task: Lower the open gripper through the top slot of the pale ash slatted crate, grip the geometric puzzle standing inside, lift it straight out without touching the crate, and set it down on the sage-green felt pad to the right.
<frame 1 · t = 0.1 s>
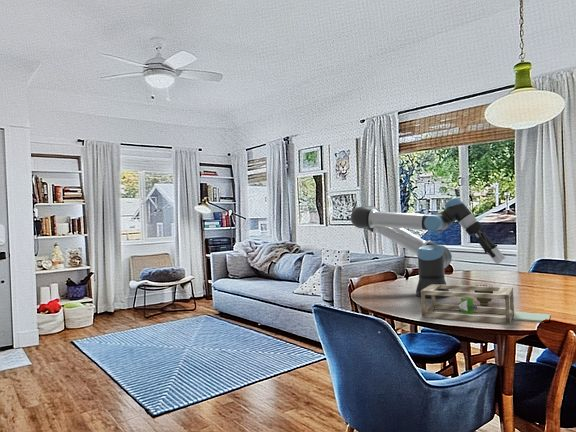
hand: (501, 261, 202), 15 cm above the table, tool tilted 35°, fingers open, 13 cm apart
geometric puzzle: (467, 316, 164), on the table
felt pad: (531, 317, 156), on the table
crate: (467, 315, 164), on the table
cup: (484, 306, 179), on the table
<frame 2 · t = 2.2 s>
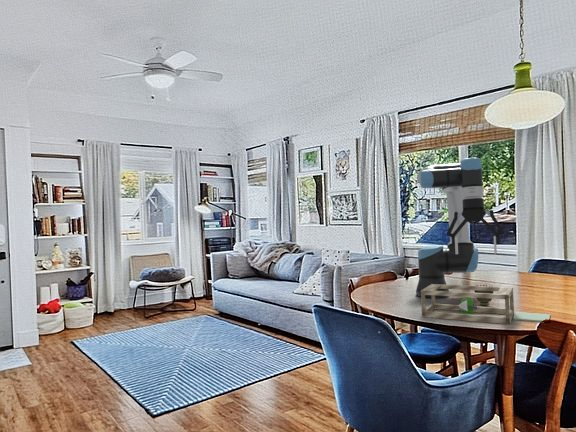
hand: (475, 253, 165), 23 cm above the table, tool pointing down, fingers open, 13 cm apart
nothing on the table moved.
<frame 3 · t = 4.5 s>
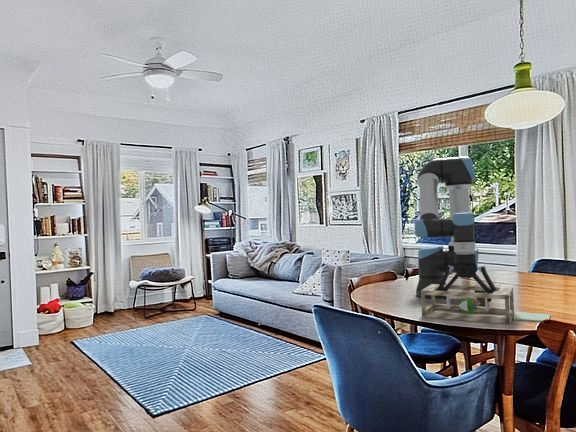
hand: (467, 309, 164), 2 cm above the table, tool pointing down, fingers open, 13 cm apart
nothing on the table moved.
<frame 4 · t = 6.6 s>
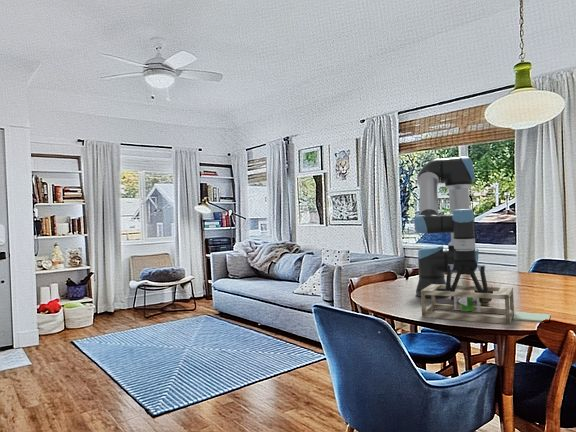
hand: (467, 309, 165), 2 cm above the table, tool pointing down, fingers closed on geometric puzzle, 7 cm apart
geometric puzzle: (467, 311, 165), point 2 cm above the table, touching gripper
everything else where it was.
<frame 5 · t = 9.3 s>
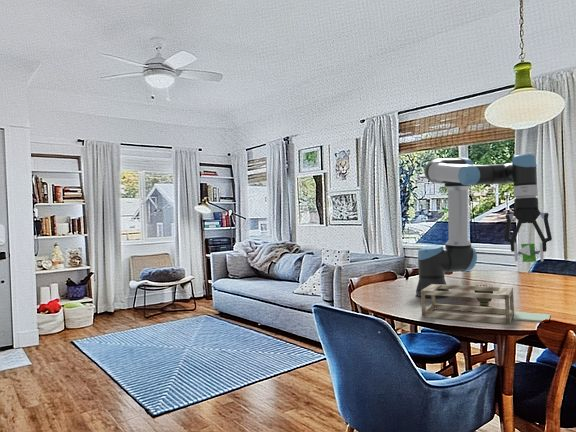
hand: (529, 260, 156), 21 cm above the table, tool pointing down, fingers closed on geometric puzzle, 7 cm apart
geometric puzzle: (529, 262, 156), point 20 cm above the table, touching gripper
everything else where it was.
when the fingers open (6 cm above the table, at t = 12.2 s): geometric puzzle drops 4 cm, resting on felt pad.
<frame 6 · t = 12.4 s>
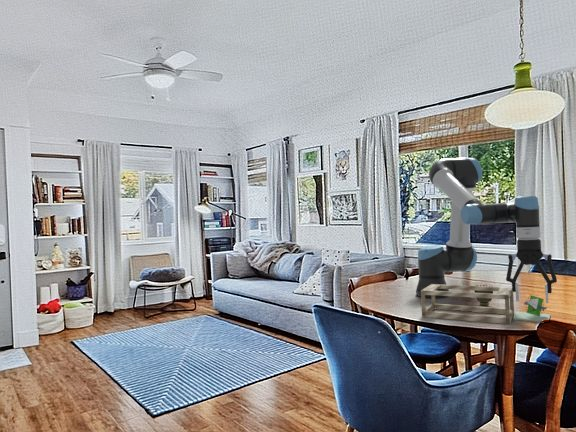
hand: (532, 301, 156), 6 cm above the table, tool pointing down, fingers open, 9 cm apart
geometric puzzle: (532, 314, 156), point 1 cm above the table, touching felt pad
everything else where it was.
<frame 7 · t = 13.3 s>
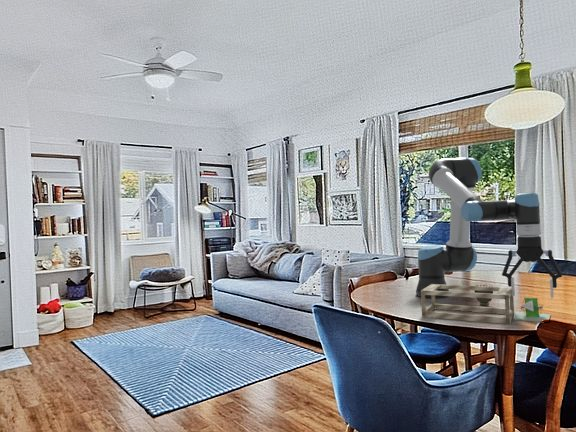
hand: (532, 296, 156), 8 cm above the table, tool pointing down, fingers open, 11 cm apart
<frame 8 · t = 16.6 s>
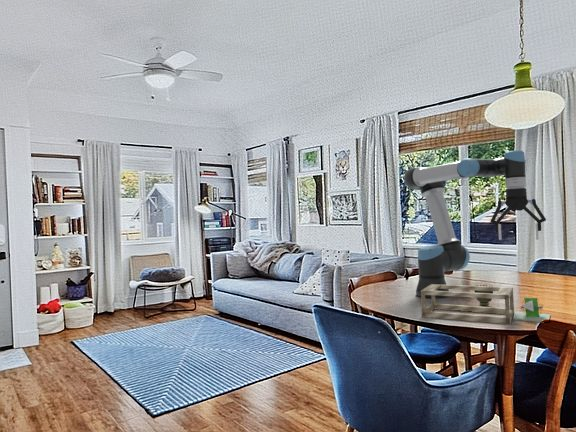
hand: (518, 239, 179), 27 cm above the table, tool pointing down, fingers open, 13 cm apart
at the end: geometric puzzle inside the target area on the felt pad (0.1 cm from its centre), point 0.4 cm above the felt pad's base; geometric puzzle tilted 0°; the gripper is holding nothing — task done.
